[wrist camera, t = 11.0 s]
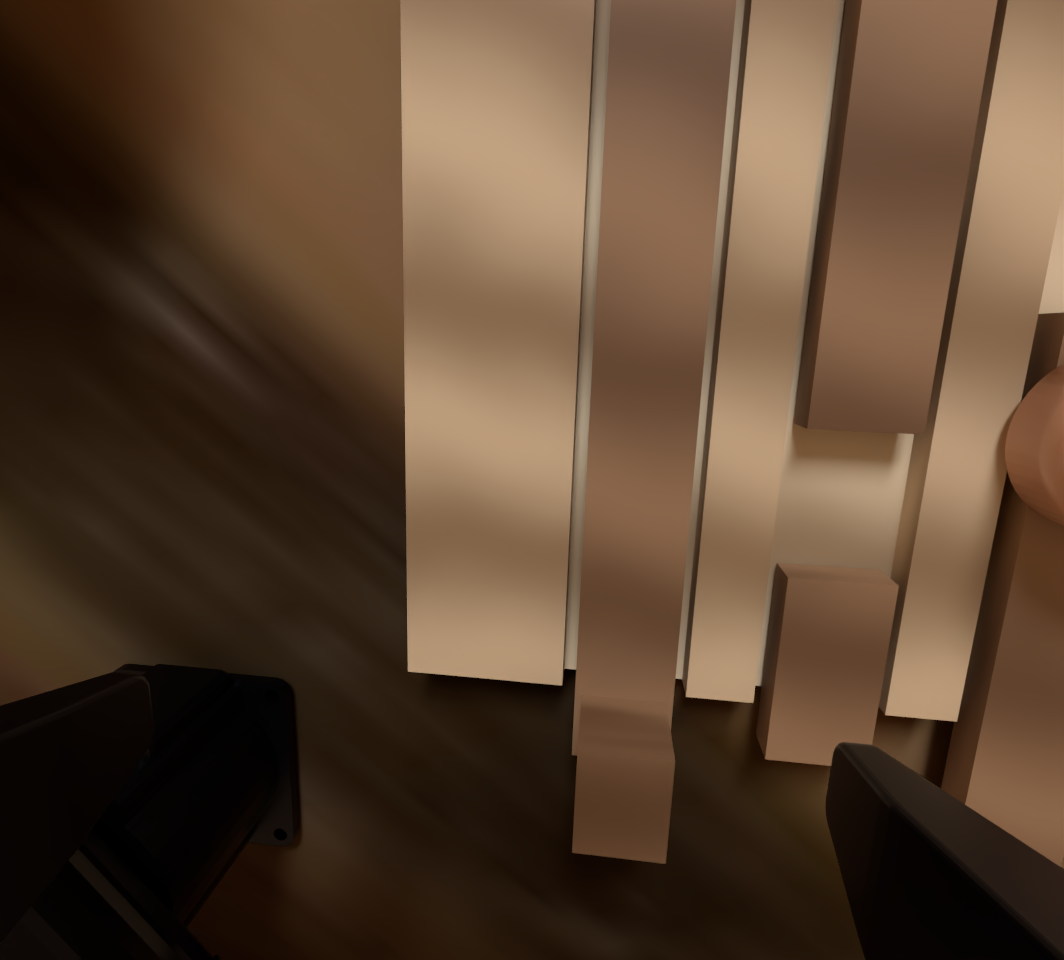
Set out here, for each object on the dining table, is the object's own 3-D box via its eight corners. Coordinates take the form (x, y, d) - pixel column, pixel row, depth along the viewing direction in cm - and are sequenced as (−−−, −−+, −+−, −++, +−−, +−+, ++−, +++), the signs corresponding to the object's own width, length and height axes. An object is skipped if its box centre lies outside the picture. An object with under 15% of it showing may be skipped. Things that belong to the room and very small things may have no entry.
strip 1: (661, 768, 20) (673, 864, 16) (572, 759, 20) (564, 851, 17) (732, -43, 15) (772, -164, 12) (614, -40, 16) (616, -156, 12)
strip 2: (988, 1020, 21) (1071, 1169, 17) (897, 1008, 21) (958, 1151, 17) (1157, 317, 16) (1323, 311, 12) (1035, 313, 16) (1161, 306, 12)
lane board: (1207, 754, 19) (1290, 812, 17) (426, 681, 22) (404, 722, 19) (1459, -85, 14) (1621, -166, 12) (423, -51, 17) (393, -113, 15)
